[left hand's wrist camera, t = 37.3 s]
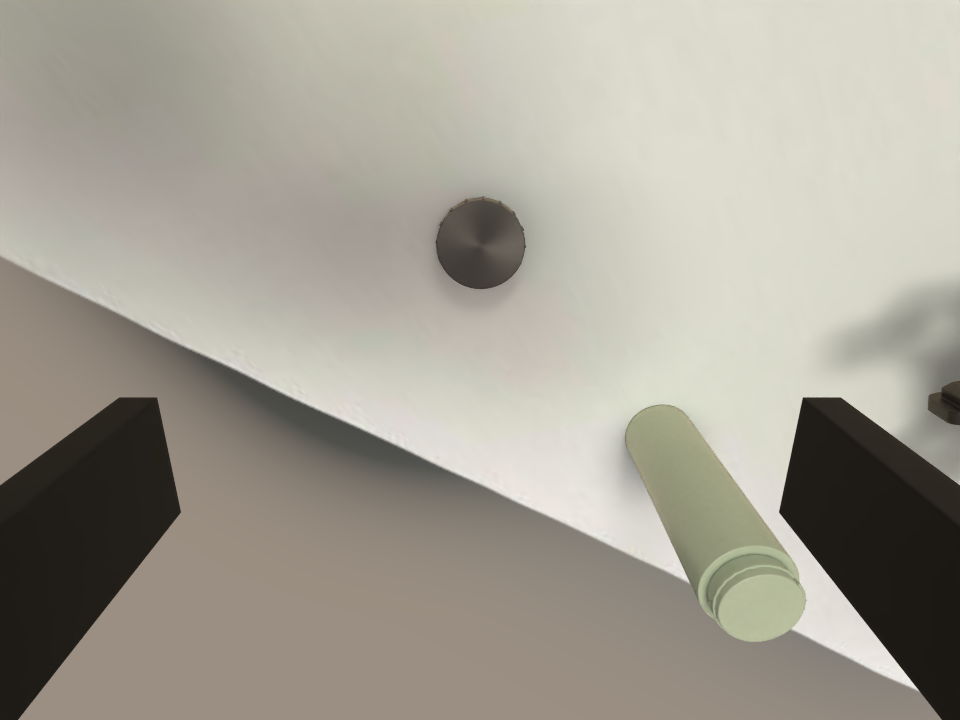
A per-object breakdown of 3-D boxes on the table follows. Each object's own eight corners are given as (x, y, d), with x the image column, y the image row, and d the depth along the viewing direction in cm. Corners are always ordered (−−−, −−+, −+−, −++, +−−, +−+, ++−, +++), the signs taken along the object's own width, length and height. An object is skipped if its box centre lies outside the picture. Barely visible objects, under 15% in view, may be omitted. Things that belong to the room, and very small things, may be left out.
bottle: (644, 475, 45) (734, 664, 29) (613, 426, 43) (690, 596, 27) (704, 444, 44) (831, 621, 28) (674, 392, 42) (790, 549, 27)
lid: (518, 191, 38) (519, 193, 36) (528, 277, 40) (530, 283, 38) (431, 203, 38) (429, 206, 36) (445, 288, 40) (444, 295, 38)
